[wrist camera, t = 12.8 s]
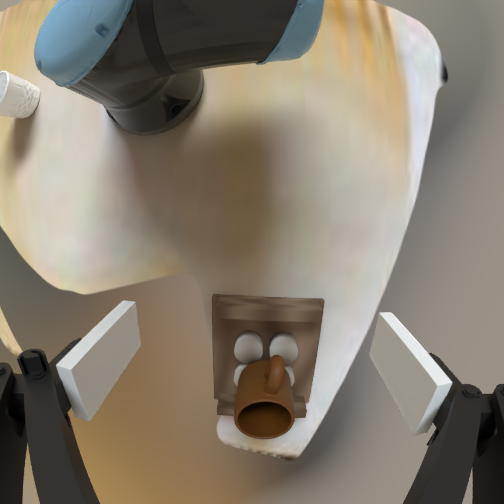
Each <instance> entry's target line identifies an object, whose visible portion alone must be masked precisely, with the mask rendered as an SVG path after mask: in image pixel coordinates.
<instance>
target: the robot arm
mask: <svg viewBox="0 0 504 504" xmlns="http://www.w3.org/2000/svg"><path fill="white" fill-rule="evenodd" d="M323 7H324V0H59V1H58V2H57V3H56V4H55V6H54V7H53V9H52V10H51V11H50V12H49V14H48V15H47V17H46V18H45V20H44V22H43V24H42V26H41V28H40V30H39V33H38V36H37V39H36V43H35V50H34V58H35V63H36V66H37V68H38V70H39V71H40V72H41V73H42V74H43V75H44V76H46V77H48V78H50V79H51V80H53V81H54V82H55V83H56V85H58V86H60V87H66V88H68V89H70V90H72V91H75V92H77V93H79V94H81V95H83V96H86V97H88V98H90V99H92V100H94V101H96V102H98V103H100V104H102V105H103V106H104V108H105V109H106V111H107V113H108V115H109V117H110V118H111V120H112V121H113V122H114V123H115V124H116V125H118V126H119V127H121V128H122V129H124V130H127V131H129V132H131V133H134V134H139V135H153V134H158V133H162V132H165V131H167V130H169V129H171V128H173V127H175V126H176V125H178V124H179V123H180V122H182V121H183V120H184V119H185V118H186V117H187V116H188V115H189V114H190V113H191V112H192V110H193V109H194V108H195V106H196V105H197V103H198V101H199V99H200V96H201V93H202V90H203V83H204V78H203V71H202V70H203V69H209V68H216V67H223V66H231V65H240V64H250V63H256V64H257V65H262V64H266V63H268V62H273V61H285V60H294V59H297V58H300V57H301V56H302V55H304V54H305V53H306V52H308V50H309V49H310V48H311V46H312V45H313V43H314V41H315V39H316V36H317V34H318V31H319V28H320V24H321V20H322V14H323ZM140 346H141V342H140V334H139V327H138V319H137V310H136V302H132V301H124V300H123V301H122V302H121V303H120V304H119V305H118V306H117V307H116V308H114V309H113V310H112V311H111V312H110V313H109V314H108V315H107V316H106V317H105V318H104V319H103V320H102V321H101V322H100V323H99V324H98V325H96V326H95V327H94V328H93V329H92V330H91V331H90V332H89V333H88V334H87V335H86V336H85V337H84V338H83V339H82V338H79V339H77V340H75V341H72V342H71V343H70V344H69V345H68V346H67V347H65V349H63V350H62V351H61V353H59V354H58V355H57V356H56V357H55V358H54V359H53V360H52V361H51V362H50V363H49V364H48V361H47V358H46V355H45V353H44V351H42V350H39V349H29V350H26V351H24V352H22V353H21V354H20V355H19V356H18V359H17V360H18V363H19V366H20V369H21V371H22V374H15V373H13V371H12V368H11V366H10V365H9V364H8V363H0V504H22V496H23V478H24V467H25V458H26V450H27V443H28V446H29V454H30V460H31V465H32V471H33V476H34V481H35V485H36V489H37V493H38V497H39V501H40V504H100V502H99V500H98V498H97V496H96V493H95V491H94V489H93V486H92V484H91V481H90V479H89V477H88V474H87V471H86V468H85V466H84V463H83V460H82V457H81V454H80V451H79V448H78V445H77V442H76V438H75V435H74V432H73V428H72V425H71V421H70V418H69V416H68V413H67V412H68V411H69V410H70V408H71V407H72V410H73V412H74V414H75V417H78V418H81V419H84V420H86V421H91V420H92V418H93V416H94V415H95V413H96V412H97V410H98V409H99V407H100V406H101V404H102V402H103V401H104V400H105V398H106V396H107V395H108V393H109V392H110V390H111V389H112V387H113V386H114V384H115V383H116V381H117V380H118V378H119V377H120V375H121V374H122V372H123V371H124V370H125V368H126V367H127V365H128V364H129V362H130V360H131V359H132V358H133V356H134V355H135V353H136V352H137V350H138V349H139V348H140ZM369 356H370V358H371V359H372V361H373V363H374V365H375V366H376V368H377V370H378V371H379V373H380V375H381V377H382V379H383V381H384V382H385V384H386V386H387V388H388V390H389V391H390V393H391V395H392V397H393V399H394V401H395V403H396V404H397V406H398V408H399V410H400V412H401V414H402V416H403V418H404V419H405V422H406V423H407V425H408V427H409V429H410V431H411V433H412V435H413V436H414V435H418V434H422V433H426V432H428V430H429V429H430V427H431V425H432V423H434V425H435V426H436V430H435V431H434V433H433V435H432V436H431V438H430V440H429V442H428V443H427V445H428V446H429V447H428V449H427V452H426V454H425V457H424V459H423V462H422V464H421V466H420V469H419V471H418V473H417V475H416V478H415V480H414V482H413V484H412V486H411V488H410V491H409V492H408V494H407V496H406V498H405V500H404V502H403V504H462V501H463V498H464V495H465V492H466V488H467V485H468V481H469V477H470V473H471V469H472V471H473V500H472V501H473V502H472V503H473V504H504V384H499V385H497V386H496V388H495V390H494V392H493V394H482V392H481V391H480V389H478V388H477V387H475V386H473V385H471V384H461V382H460V381H459V380H458V379H457V378H456V377H455V375H454V374H453V373H452V372H451V371H450V370H449V369H448V367H447V366H446V365H444V363H443V362H442V361H441V359H440V358H439V357H437V356H435V355H434V354H432V353H427V352H426V351H425V350H424V348H423V347H422V346H421V345H420V344H419V343H418V342H417V340H416V339H415V338H414V337H413V336H412V335H411V334H410V332H409V331H408V330H407V329H406V328H405V327H404V326H403V325H402V324H401V322H400V321H399V320H398V319H397V318H396V317H395V316H394V315H393V314H392V313H391V312H388V313H379V316H378V321H377V325H376V330H375V334H374V339H373V342H372V346H371V350H370V355H369Z"/></svg>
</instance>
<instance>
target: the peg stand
mask: <svg viewBox="0 0 504 504" xmlns="http://www.w3.org/2000/svg"><path fill="white" fill-rule="evenodd" d="M323 308H324V300H323V299H316V298H282V297H257V296H236V295H219V294H213V296H212V325H213V371H214V399H219V401H218V406H217V414H218V415H227V416H234V409H235V401H236V393H237V387H238V379H239V376H240V374H241V372H242V370H243V369H244V368H245V367H246V366H247V365H249V364H251V363H253V362H256V361H260V360H269V359H270V358H271V357H272V356H273V355H280V356H281V357H283V359H284V362H285V369H286V370H287V372H288V374H289V377H290V381H291V388H292V394H293V401H294V418H305V417H306V412H307V410H306V405H305V402H309V397H310V392H311V386H312V381H313V375H314V369H315V363H316V357H317V351H318V344H319V337H320V330H321V323H322V316H323Z"/></svg>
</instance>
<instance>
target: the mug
mask: <svg viewBox="0 0 504 504" xmlns="http://www.w3.org/2000/svg"><path fill="white" fill-rule="evenodd" d="M234 421H235V424H236V426H237V428H238V429H239V430H240V431H241V432H242V433H243V434H245V435H247V436H249V437H252V438H256V439H272V438H276V437H279V436H281V435H283V434H285V433H286V432H287V431H289V430H290V428H291V427H292V425H293V423H294V401H293V394H292V388H291V381H290V377H289V374H288V372H287V370H286V369H285V362H284V359H283V357H281V356H280V355H273V356H272V357H271V358H270V359H269V360H260V361H256V362H253V363H251V364H249V365H247V366H246V367H245V368H244V369H243V370H242V372H241V374H240V376H239V379H238V387H237V393H236V401H235V409H234Z"/></svg>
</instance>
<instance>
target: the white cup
mask: <svg viewBox="0 0 504 504" xmlns="http://www.w3.org/2000/svg"><path fill="white" fill-rule="evenodd" d="M39 99H40V91H39V88H38V87H36V86H34V85H32V84H30V83H29V82H28V81H26V80H24V79H22V78H20V77H18V76H15V75H13V74H11V73H9V72H7V71H1V72H0V116H4V117H16V118H22V119H23V118H27V117H29V116H30V115H31V114H32V113H33V112H34V110H35V109H36V107H37V105H38V102H39Z"/></svg>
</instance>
